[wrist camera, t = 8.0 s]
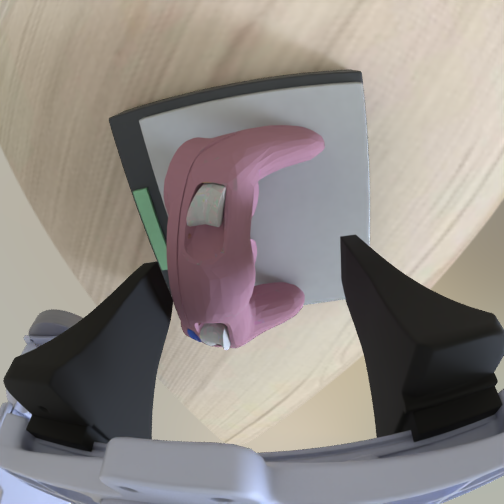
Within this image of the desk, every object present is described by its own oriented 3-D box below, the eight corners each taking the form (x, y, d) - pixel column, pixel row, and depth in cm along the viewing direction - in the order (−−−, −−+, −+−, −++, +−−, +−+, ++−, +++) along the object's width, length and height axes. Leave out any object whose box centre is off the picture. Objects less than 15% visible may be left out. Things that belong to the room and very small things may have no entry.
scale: (185, 297, 22) (178, 324, 20) (123, 111, 15) (102, 121, 13) (360, 275, 21) (369, 301, 19) (350, 69, 14) (365, 71, 11)
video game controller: (238, 111, 14) (123, 148, 9) (333, 124, 12) (254, 167, 7) (238, 278, 20) (165, 356, 15) (308, 303, 18) (249, 399, 13)
